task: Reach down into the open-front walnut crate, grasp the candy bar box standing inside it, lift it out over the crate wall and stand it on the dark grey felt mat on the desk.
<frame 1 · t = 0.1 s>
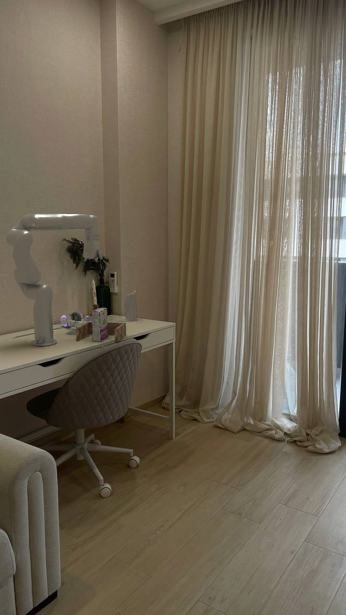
hand: (92, 268, 255), 37 cm above the table, tool pointing down, fingers open, 9 cm apart
candy bar box: (100, 339, 246), resting in crate
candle: (126, 320, 300), on the table
felt mat: (75, 332, 264), on the table
headphones: (80, 326, 282), on the table, touching felt mat
crate: (100, 339, 247), on the table
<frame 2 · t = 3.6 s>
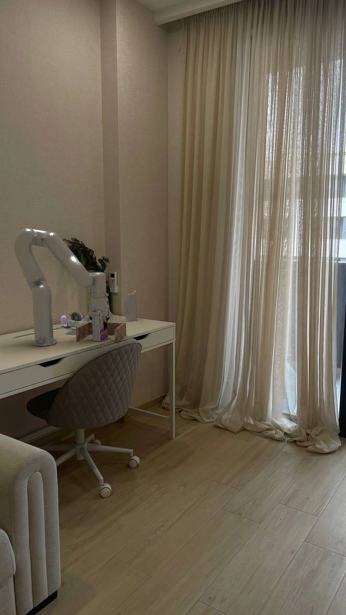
hand: (100, 328, 245), 6 cm above the table, tool pointing down, fingers closed on candy bar box, 5 cm apart
candy bar box: (100, 339, 246), resting in crate, touching gripper
everything else where it was.
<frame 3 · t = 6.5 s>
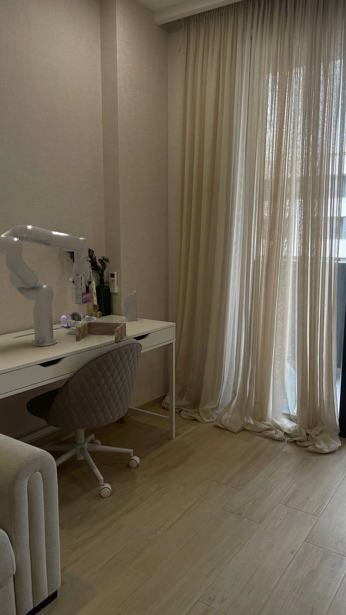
hand: (82, 292, 254), 24 cm above the table, tool pointing down, fingers closed on candy bar box, 5 cm apart
candy bar box: (83, 303, 255), point 18 cm above the table, touching gripper
everything else where it was.
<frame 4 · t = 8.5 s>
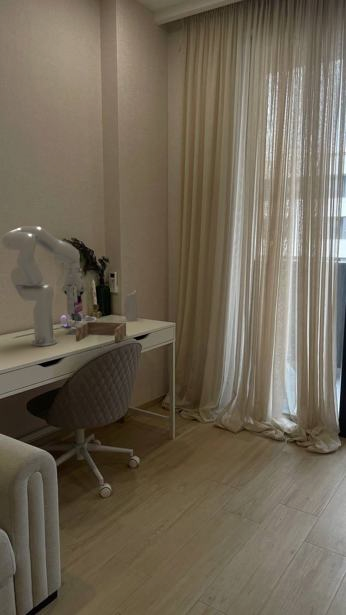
hand: (74, 302, 262), 18 cm above the table, tool pointing down, fingers closed on candy bar box, 5 cm apart
candy bar box: (75, 312, 263), point 12 cm above the table, touching gripper
everything else where it was.
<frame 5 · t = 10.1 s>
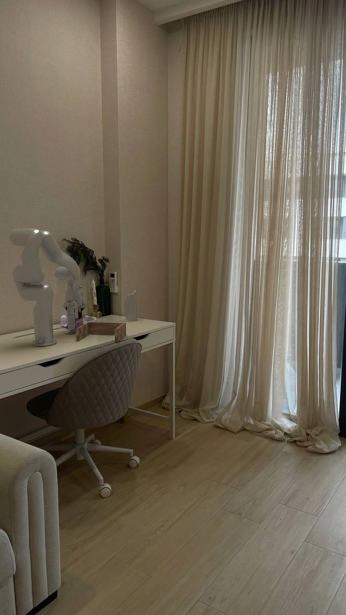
hand: (75, 318, 263), 8 cm above the table, tool pointing down, fingers closed on candy bar box, 5 cm apart
candy bar box: (75, 328, 264), point 2 cm above the table, touching headphones, gripper
headphones: (80, 326, 282), on the table, touching candy bar box, felt mat
everything else where it was.
when the fingers open (8 cm above the table, at t = 10.7 s): candy bar box stays where it is, resting on headphones.
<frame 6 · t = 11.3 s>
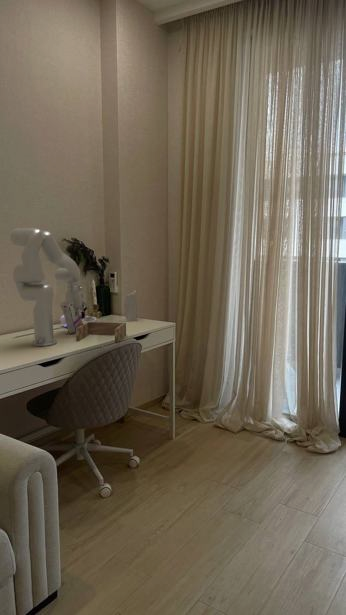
hand: (75, 318, 263), 8 cm above the table, tool pointing down, fingers open, 9 cm apart
candy bar box: (76, 329, 265), point 1 cm above the table, touching headphones
everything else where it was.
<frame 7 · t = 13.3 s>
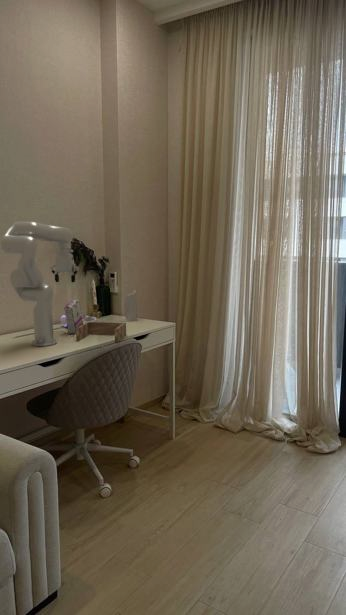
hand: (65, 282, 258), 30 cm above the table, tool pointing down, fingers open, 9 cm apart
candy bar box: (76, 329, 265), point 1 cm above the table, touching headphones, felt mat
everything else where it was.
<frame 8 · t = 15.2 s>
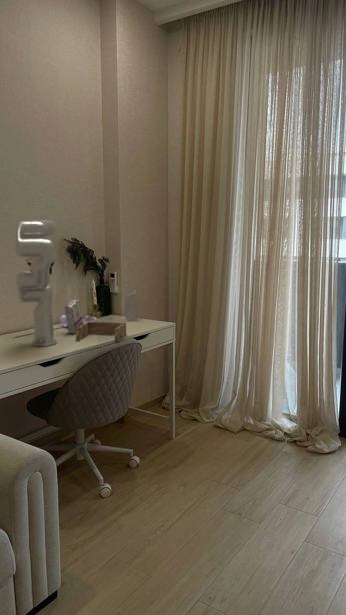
hand: (41, 274, 255), 34 cm above the table, tool pointing down, fingers open, 9 cm apart
nothing on the table moved.
at the end: candy bar box inside the target area (0.4 cm from its centre), point 1.4 cm above the table; candy bar box tilted 14°; the gripper is holding nothing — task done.
